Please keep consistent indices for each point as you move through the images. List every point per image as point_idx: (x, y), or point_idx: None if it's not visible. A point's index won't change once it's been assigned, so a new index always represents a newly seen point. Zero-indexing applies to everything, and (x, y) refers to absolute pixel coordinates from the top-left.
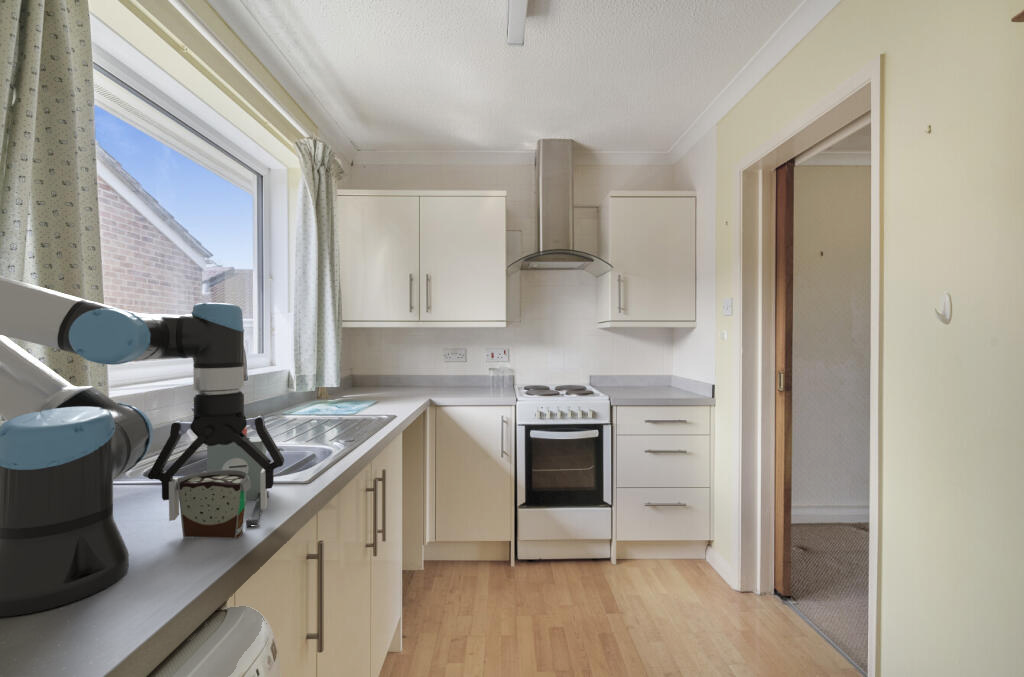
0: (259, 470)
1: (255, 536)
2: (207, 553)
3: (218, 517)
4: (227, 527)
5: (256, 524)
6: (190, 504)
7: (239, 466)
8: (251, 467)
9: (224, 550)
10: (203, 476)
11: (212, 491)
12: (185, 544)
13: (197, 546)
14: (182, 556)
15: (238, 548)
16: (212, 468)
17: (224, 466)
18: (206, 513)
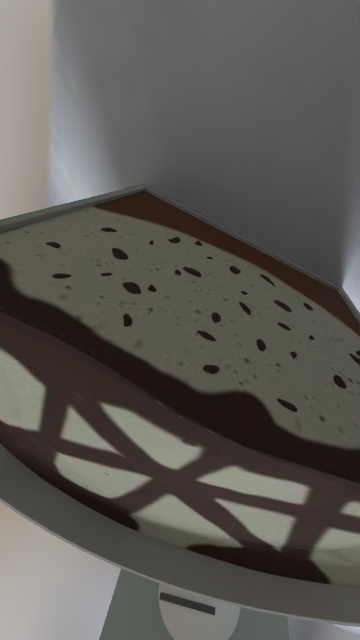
0: None
1: (81, 190)
2: (231, 36)
3: (197, 251)
4: (165, 215)
5: None
6: (351, 363)
7: (182, 601)
8: (151, 582)
9: (160, 53)
10: (297, 573)
11: (210, 355)
12: (333, 210)
13: (284, 163)
14: (348, 35)
15: (105, 58)
16: (270, 628)
17: (230, 622)
18: (256, 290)
